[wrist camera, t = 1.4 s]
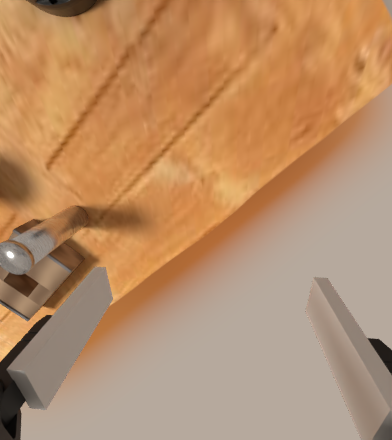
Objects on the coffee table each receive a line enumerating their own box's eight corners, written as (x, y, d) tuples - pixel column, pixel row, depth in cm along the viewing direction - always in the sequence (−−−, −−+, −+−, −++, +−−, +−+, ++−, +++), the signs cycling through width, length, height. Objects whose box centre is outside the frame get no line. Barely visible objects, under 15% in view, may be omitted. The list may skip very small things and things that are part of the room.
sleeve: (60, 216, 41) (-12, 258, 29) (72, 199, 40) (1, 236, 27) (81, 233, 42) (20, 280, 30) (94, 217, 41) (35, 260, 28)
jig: (-4, 275, 50) (-24, 288, 46) (33, 219, 42) (13, 229, 38) (42, 306, 52) (27, 321, 48) (84, 258, 45) (71, 271, 41)
